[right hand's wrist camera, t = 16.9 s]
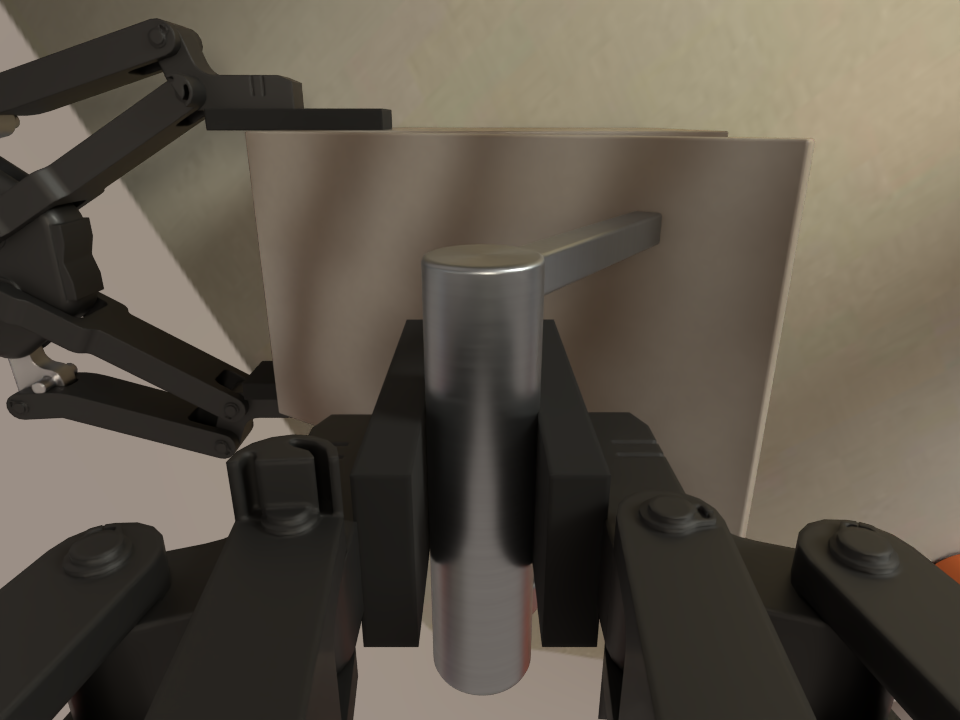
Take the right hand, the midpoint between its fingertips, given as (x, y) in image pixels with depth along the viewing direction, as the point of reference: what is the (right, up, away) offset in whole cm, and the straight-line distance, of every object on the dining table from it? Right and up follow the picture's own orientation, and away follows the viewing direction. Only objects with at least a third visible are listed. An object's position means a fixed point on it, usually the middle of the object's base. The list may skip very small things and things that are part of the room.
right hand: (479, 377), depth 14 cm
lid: (0, +2, +5) cm, 5 cm away
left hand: (-4, +5, +12) cm, 14 cm away
